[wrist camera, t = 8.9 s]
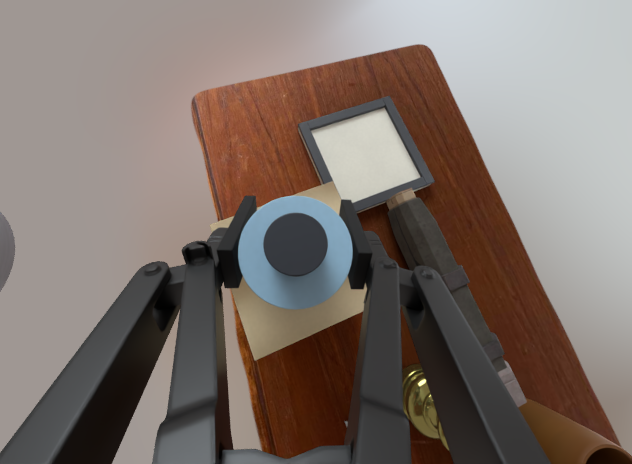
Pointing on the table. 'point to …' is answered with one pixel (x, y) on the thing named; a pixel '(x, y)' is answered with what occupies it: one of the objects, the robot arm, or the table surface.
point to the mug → (570, 438)
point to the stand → (288, 324)
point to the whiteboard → (365, 153)
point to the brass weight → (420, 404)
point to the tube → (445, 274)
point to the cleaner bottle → (295, 252)
